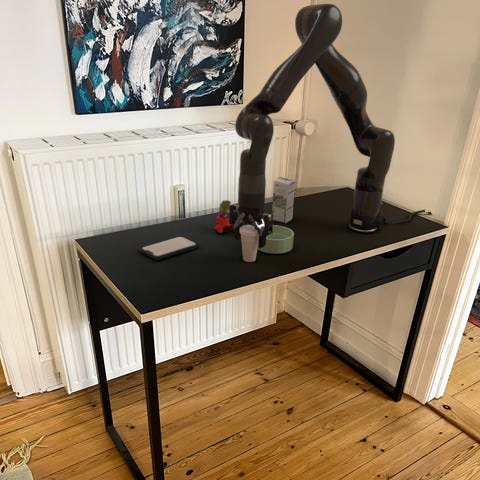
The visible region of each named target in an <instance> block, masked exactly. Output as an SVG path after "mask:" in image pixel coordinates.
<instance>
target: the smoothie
mask: <svg viewBox="0 0 480 480" xmlns="http://www.w3.org/2000/svg"><path fill="white" fill-rule="evenodd" d="M239 232H240V233H241V239H240V241H241V250H242V260H243V261H244V262H246V263H252V262H255V261H256V259H257V254H258V249H257V248H258V240H259V234H258V231H257V230H255V228H254V226H251V225H249V224H246V225H245V224H243V225H242V226H241V227H240V231H239Z"/></svg>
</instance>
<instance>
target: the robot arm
mask: <svg viewBox="0 0 480 480" xmlns="http://www.w3.org/2000/svg"><path fill="white" fill-rule="evenodd" d="M342 27H343V14H342V11H341V10H340V8H339V7H338V6H337V5H335V4H333V3H320V4H319V3H318V4H310V5H306V6H304V7H302V8H300V9H299V10H298V12H297V13H296V16H295V21H294V29H295V32H296V36H297V39H298V40H299V42H300V43H301V45H300V46H299V47H298V48H297V49H296V50H295V51H294V52H293V53H292V54H291V55H289V56H288V57H287V58H286V59H285V60H284V61H283V62H281V64H280V65H278V66H277V67H276V69H274V71H273V72H272V73H271V75H270V76H269V78H268V79H267V81H266V82H265V83H264V85H263V87H262V88H261V90H260V92H259V93H258V94H257V95H256V96H254V97H253V98H252V99H251V100H250V101H249V102H248V103H247V104H246V105H245V106H243V108H242V110H241V111H240V112H239V114H238V115H237V117H236V119H235V125H234V128H235V132H236V135H237V136H239V137H240V138H241V139H245V140H247V141H251V142H250V147H249V148H245V149H243V150H242V151H241V153H240V155H239V175H238V188H237V202H235V203H232V204H230V214H229V224H230V225H231V224H232V225H233V228H235V231H234V238H235V241H241V233H240V232H239V231H240V227H242V226H243V225H245V224H246V225H251V226H254V228H255V230H257V231H258V234H259V240H258V248H262V247H264V246H265V245H266V236H268V235H270V234H272V233H273V225H274V220H273V214H272V212H270V213H265V212H264V207H265V205H266V204H265V203H266V187H267V185H266V184H267V183H266V182H267V179H266V170H267V169H266V165H267V156H268V153H269V150H270V147H271V144H272V140H273V137H274V133H275V132H274V129H275V128H274V123H273V120H272V118H271V117H270V116H269V115H272V114H277V113H279V112H281V111H282V110H283V108H284V106H285V105H286V103H287V101H288V100H289V99H290V97H291V95H292V94H293V92H294V91H295V89H296V88H297V86H298V85H299V83H300V82H301V81H302V80H303V78H304V77H305V76H306V75H307V73H308V72H309V71H310V70H311V68H312V67H313V66H314V65H315V66H316V68H317V70H318V72H319V73H320V76H321V77H322V79H323V81H324V83H325V84H326V87H327V88H328V90H329V93H330V94H331V97H332V98H333V101H334V102H335V104H336V106H337V107H338V109H339V111H340V113H341V115H342V117H343V119H344V121H345V123H346V125H347V127H348V129H349V132H350V134H351V137H352V140H353V142H354V145H355V147H356V149H357V151H358V152H359V153H360V155H362V156H365V157H368V158H369V160H368V163H367V166H363V167H360V168H358V169H357V171H356V177H355V185H354V192H353V197H352V205H351V211H350V219H349V223H348V229H350V230H351V231H354V232H356V233H359V234H360V233H361V234H372V233H375V232H376V231H379V230H380V224H381V223H383V224H384V225H400V224H405V223H407V222H410V221H411V220H412V217H413V216H414V215H418V214H422V213H425V214H428V215H430V216H431V215H433V213H432V212H431V211H430V212H425V210H426V209H420V210H416V211H414V212H413V211H412V212H411V213H409V215H408V217H407V218H405V219H403V220H399V221H392V222H391V221H387V217H386V216H385V215H384V214H383V207H384V202H382V199H383V195H384V187H385V181H386V177H387V175H388V173H389V171H390V168H391V164H392V160H393V156H394V155H393V154H394V151H395V143H396V141H395V140H396V139H395V138H396V137H395V135H394V132H392V131H391V130H389V129H386V128H382V127H379V126H376V125H375V124H373V122H372V120H371V118H370V117H369V115H368V112H367V102H368V90H367V87H366V85H365V82H364V80H363V78H362V76H361V74H360V73H359V71H358V70H357V68H356V67H355V66H354V65H353V63H351V62H350V61H349V60H348V59H347V58H346V57H345V56H344V55H342V53H340V52H339V51H338V49H336V47H335V46H334V45H333V43H335V41H336V40H337V38H338V37H339V35H340V33H341V31H342ZM261 229H262V230H261Z"/></svg>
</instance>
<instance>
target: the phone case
mask: <svg viewBox="0 0 480 480" xmlns="http://www.w3.org/2000/svg"><path fill="white" fill-rule="evenodd" d="M197 247H198V244H197V243H196V242H194V241H192V240H190V239H188V238H186V237H184V236H177V237H172V238H169V239H166V240H163V241H160V242H156V243H153V244H150V245H146V246H143V247H141V248H140V252H141V254H143V255H145V256H147V257H148V258H150V259H152V260H153V261H160V260H163V259H167V258H170V257H173V256H176V255H180V254H182V253H186V252H189V251H192V250H195V249H197Z"/></svg>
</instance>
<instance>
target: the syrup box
mask: <svg viewBox="0 0 480 480" xmlns="http://www.w3.org/2000/svg"><path fill="white" fill-rule="evenodd" d="M272 190H273V191H272V209H271V213H272V214H273V222H278V223H283V224H287V223H289V222H290V221H292V220H293V215H294V200H295V191H296V178H295V179H294V178H289V177H284V176H280V177H279V176H278V177H277V178H275V179H274V180H273V189H272Z"/></svg>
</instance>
